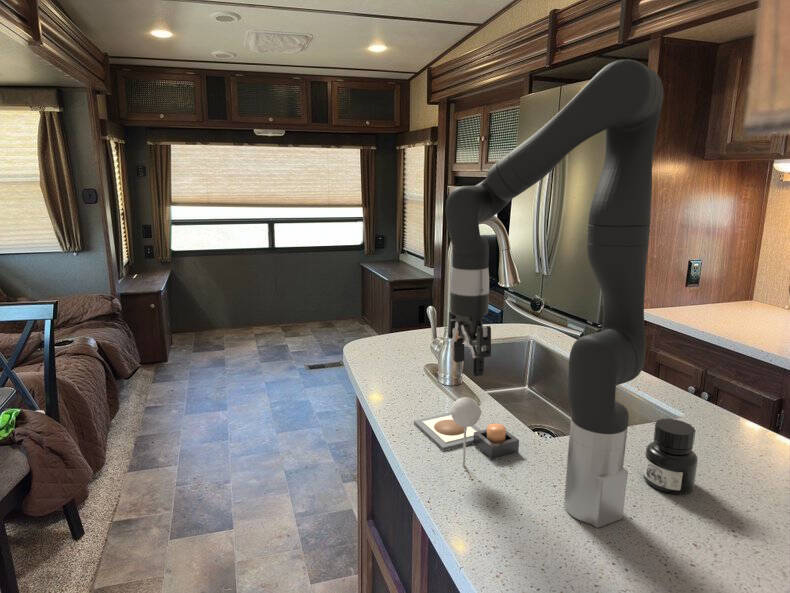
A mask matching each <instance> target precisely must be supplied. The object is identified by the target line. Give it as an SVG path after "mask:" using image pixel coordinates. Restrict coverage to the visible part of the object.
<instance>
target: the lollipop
mask: <svg viewBox="0 0 790 593" xmlns="http://www.w3.org/2000/svg"><path fill="white" fill-rule="evenodd" d="M449 413H451V415H452V418H453V420H454V421H455V423H456V424H458V425H459V426H462V427H464V445H463V446H462V448H463V449H462V450H463V451H462V452H463V453H462V467H465V466H466V454H467V453H466V451H467V450H466V449H467V448H466V447H467V445H466V427H470V426H473V425H476V424H477V423H478V421H479V420H480V418H481V415H482V409H481V407H480V406H479V403H478V402H476V400H474V399H473V398H471V397H466V396H464V397H460V398H457V399H456V400H455V401H454V402H453V404H452V405H451V407H450V411H449Z"/></svg>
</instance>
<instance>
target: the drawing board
mask: <svg viewBox="0 0 790 593" xmlns="http://www.w3.org/2000/svg"><path fill="white" fill-rule="evenodd" d="M413 424H414V426H416V427H417V428H418V429H419V430H420V431H421V432H422V433H423V434H424V435H425V436H426V437H427V438H429V439H430V440H431V442H433V443H434V444H435V446H437V447H438V449H440V450H441V451H442V452H444V451H445V452H446V451H447V450H448V451H449V450H452V449H456V448H460V447H463V445H464V427H462V426H459V425H458V424H456V423H455V421H454V420H453V418H452V415H451V412H448V413H444V414H443V413H442V414H439V415H434V416H430V417H424V418H420V419H417V420H413ZM478 431H482V429H481V428H479V427H478V426H476V424H474V425H473V426H470V427H466V446H469V445H473V439H474V432H478Z"/></svg>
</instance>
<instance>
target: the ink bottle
mask: <svg viewBox="0 0 790 593" xmlns="http://www.w3.org/2000/svg"><path fill="white" fill-rule="evenodd" d="M654 423H655V424H654V430H653V431H654V433H653V442H650V443H648V445H647V446H646V448H645V454H644V455H645V456H644V462H643V470H642V471H643V474H642V476H643V479H644V481H645V482H646V483H647V484H648V485H650V486H651V487H653V488H654V489H656V490H658V491H660V492H663V493H665V494H671V495H684V494H688V493H691V492H692V491H693V490H694V488H695V482H696V476H697V470H698V469H697V468H698V463H699V462H698V461H699V459H698V455H697V453H695V451H694V450H693V448H694V443H695V438H696V437H695V436H696V429H695V427H694V426H692V425H691V424H690V423H687V422H685V421H683V420H680V419H679V420H678V419H676V418H675V419H674V418H673V419H672V418H661V419H657V421H655V422H654Z"/></svg>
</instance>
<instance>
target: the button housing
mask: <svg viewBox="0 0 790 593" xmlns="http://www.w3.org/2000/svg"><path fill="white" fill-rule="evenodd" d="M481 430H482V429H481ZM472 445H473V446H474V447H476V449H478V450H479V451H480V452H482V453H483V454H484V455H486V457H487V458H489V459H490V460H491V461H493V460H496V459H500V458H504V457H506V456H511V455H514V454H519V448H520V447H519V446H520V439H518V437H516V436H514V435H513V434H512V433H510V432H508V430H506V436H505V441H502V442H498V443H494V444H493V443H492V442H490V441H489V440H488V439H487V428H486V429H483V430H482V431H478V432H474V439H473V444H472Z"/></svg>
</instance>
